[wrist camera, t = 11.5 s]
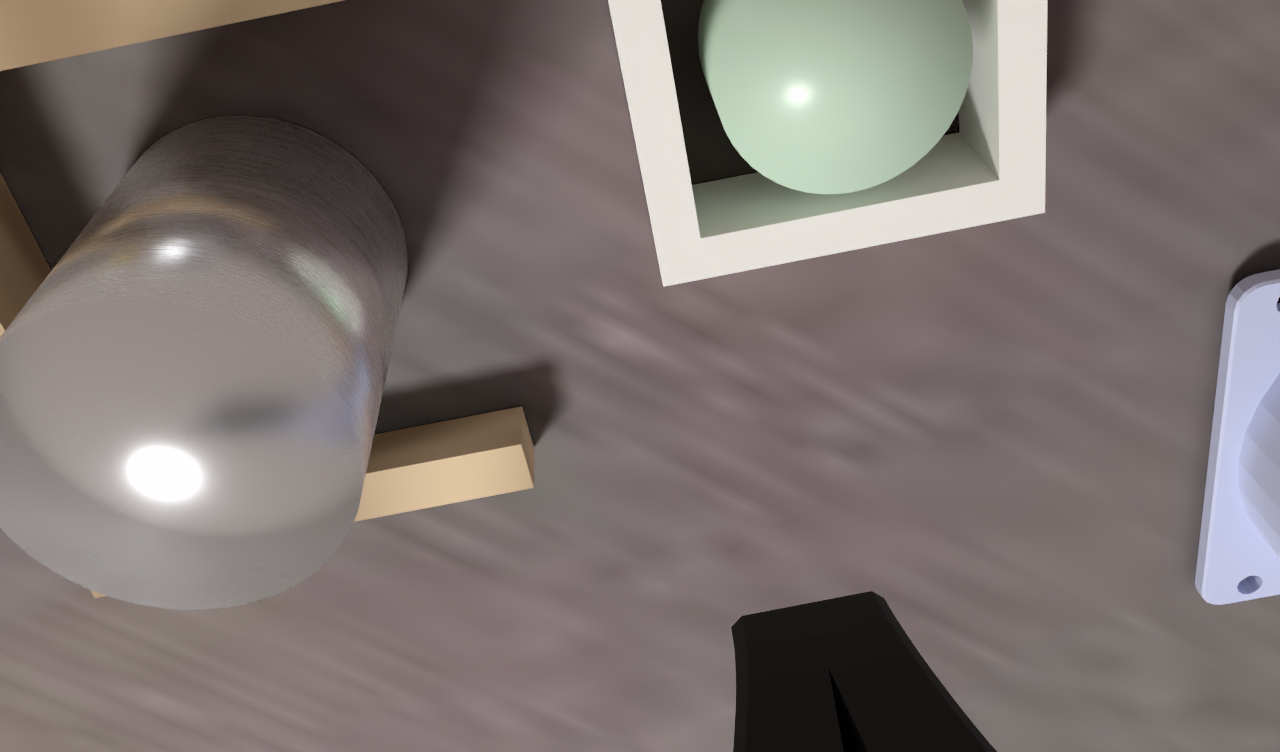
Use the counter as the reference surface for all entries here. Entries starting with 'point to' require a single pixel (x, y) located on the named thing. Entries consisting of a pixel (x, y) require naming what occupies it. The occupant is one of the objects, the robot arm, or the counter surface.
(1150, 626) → the counter surface
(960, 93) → the button
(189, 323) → the cylinder
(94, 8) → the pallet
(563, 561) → the counter surface
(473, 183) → the counter surface
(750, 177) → the button housing
